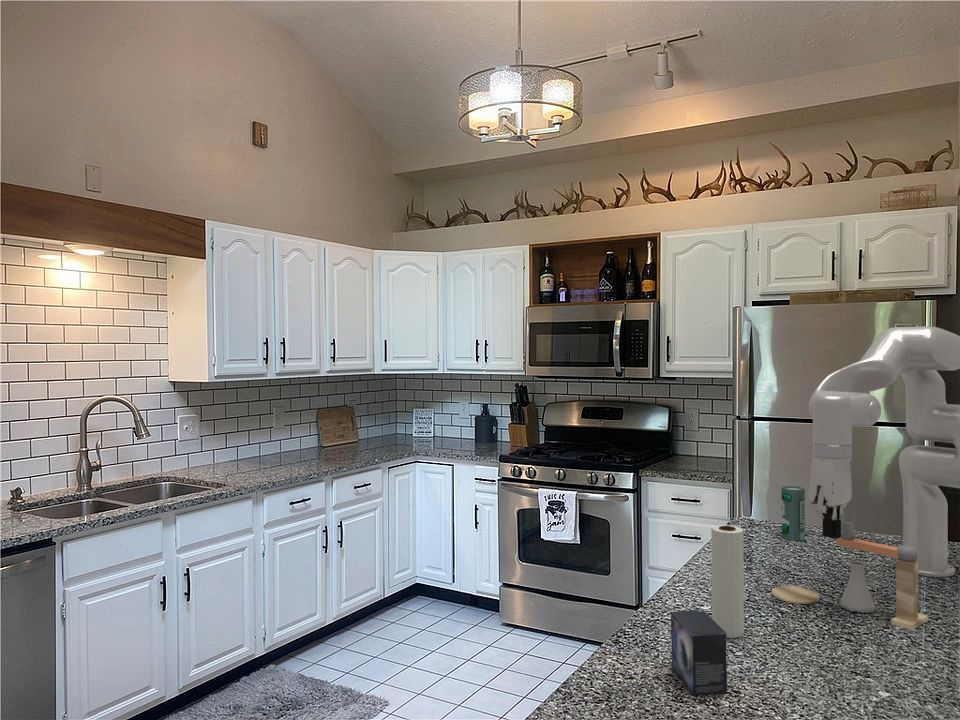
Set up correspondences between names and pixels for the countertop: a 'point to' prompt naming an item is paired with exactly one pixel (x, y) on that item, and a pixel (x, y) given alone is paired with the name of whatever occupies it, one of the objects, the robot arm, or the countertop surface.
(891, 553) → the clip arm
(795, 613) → the countertop surface
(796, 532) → the can
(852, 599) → the flask
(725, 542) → the paper towel roll
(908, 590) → the post
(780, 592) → the coaster
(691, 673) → the small box
